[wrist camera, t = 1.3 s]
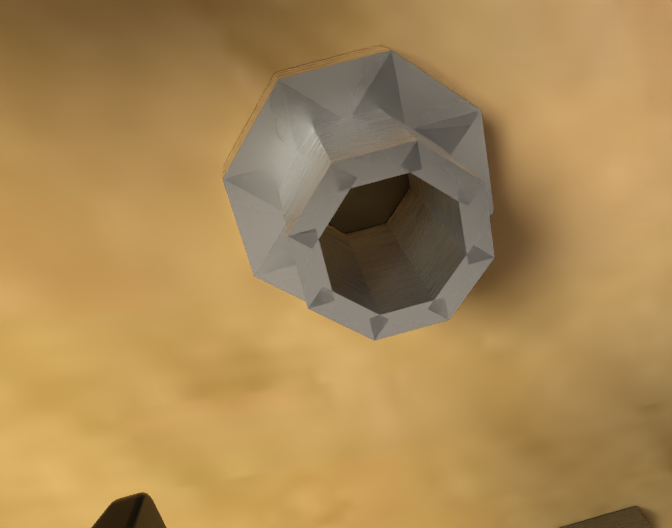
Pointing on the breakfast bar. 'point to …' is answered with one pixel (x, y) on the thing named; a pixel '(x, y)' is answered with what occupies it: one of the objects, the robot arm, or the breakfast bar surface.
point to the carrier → (616, 520)
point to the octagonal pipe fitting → (356, 170)
